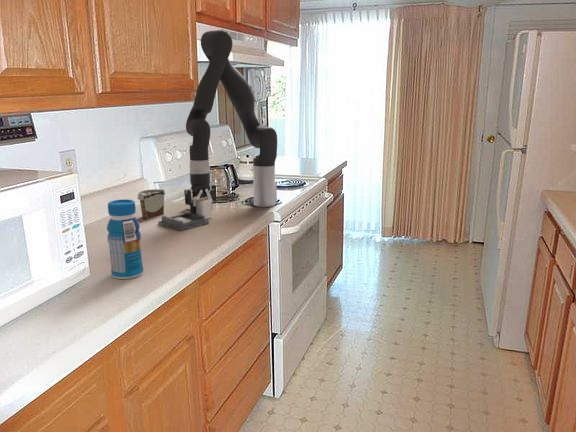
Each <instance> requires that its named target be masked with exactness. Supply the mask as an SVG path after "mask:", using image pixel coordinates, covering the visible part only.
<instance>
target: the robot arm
mask: <svg viewBox="0 0 576 432" xmlns="http://www.w3.org/2000/svg"><path fill="white" fill-rule="evenodd" d="M200 46H201V47H200V48H201V50H202V51H203V54H204V55H205V57H206V58H207V60H208V61H209V63H208V66H207V68H206V70H205V72H204V74H203V76H202V77H201V80H200V81H199V84H198V85H197V88H196V91H195V96H194V98H193V99H194V100H193V106H192V107H191V109H190V111H189V114H188V117H187V118H186V123H185V130H186V132H187V134H188V136H191V137H192V144H191V145H189V151H188V152H189V178H190V180H189V181H190V183H189V184H190V185H191V187H190V188H189V189H188V188H187V189H184V191H183V193H184V202H185V205H186V206H187V205H190V210H189V212H192V213H196V206H195V205H196V203H197V201H198V200H199V198H205V199H209V200H212V203H213V202H214V201H217V185H216V184H211V171H210V170H211V167H210V160H209V159H210V157H209V156H210V155H209V146H210V140H211V127H210V124H209V122H208V121H207V120H206V119H207V116H208V115H209V114H210V113H211V112H212V111H213V110H212V109H213V108H214V107H213V106H214V101H215V99H216V93H217V90H218V86H219V83H220V82H221V85H222V86H223V88H224V90H225V93H226V95H227V97H228V98H229V100H230V102H231V105H232V107H233V108H234V110H235V111H236V114H237V116H238V117H239V120H240V122H241V124H242V127H243V129H244V132H245V134H246V138H247V139H248V142H249V143H250V145H251V146H252V147H253V148H255V149H259V154H258V156H255V157H254V158H253V161H252V171H253V172H252V175H253V176H252V178H253V179H252V180H253V184H252V185H253V206H255V207H260V208H261V207H262V208H267V207H274V206H275V205H277V203H278V202H277V199H278V198H277V196H278V194H277V189H278V188H277V186H278V185H277V181H276V159H277V155H278V133H277V131H276V130H275V128H273V127H271V126H262V125H261V124H260V121H259V120H258V119H257V115H256V112H255V104H256V103H255V101H256V100H255V95H254V92H253V90H252V89H251V87H250V84H249V83H248V81H247V80H246V78H245V77H244V76H243V74H242V73H241V72H239V70H238V69H237V68H235V66H234V65H233V64H232V62H231V61H230V59H229V57H230V55H231V53H232V49H233V39H232V36H231V34H230V33H229V32H228V31H226V30H222V29H221V30H220V29H218V30H208V31H205V32H203V33H202V35H201V38H200ZM192 193H193V194H192ZM191 194H192V196H191ZM194 197H196V198H194Z"/></svg>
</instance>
